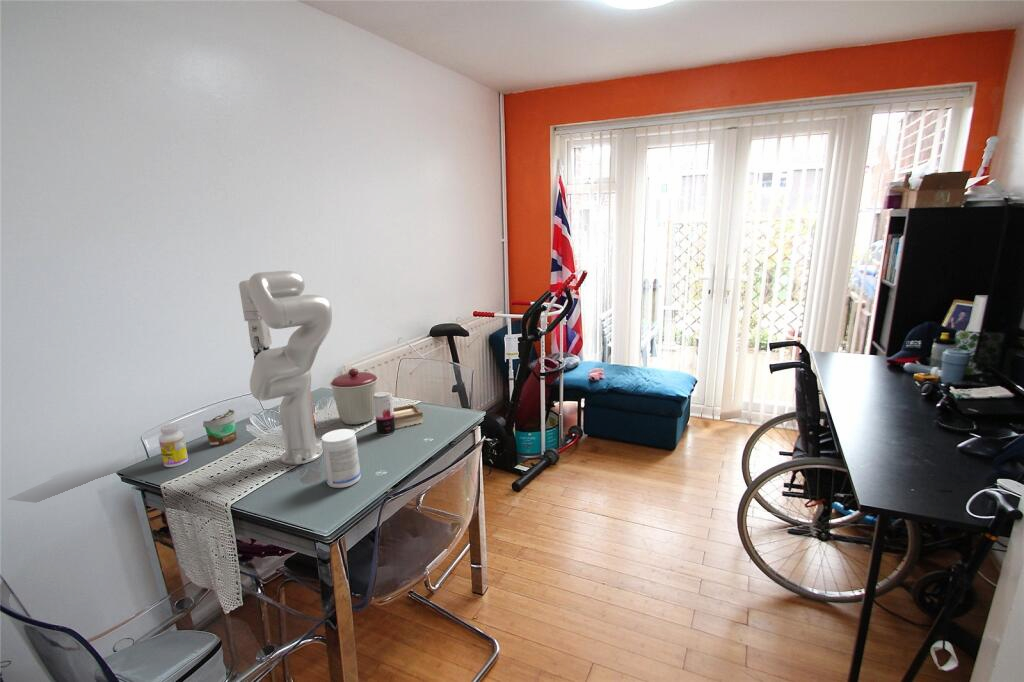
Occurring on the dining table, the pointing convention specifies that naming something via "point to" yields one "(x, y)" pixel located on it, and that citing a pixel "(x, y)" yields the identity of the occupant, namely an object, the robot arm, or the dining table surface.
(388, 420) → the beverage can
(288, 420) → the robot arm
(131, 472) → the dining table surface
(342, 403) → the canister
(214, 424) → the food container
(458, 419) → the dining table surface
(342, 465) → the supplement tub
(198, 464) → the dining table surface
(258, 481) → the dining table surface
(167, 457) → the supplement bottle
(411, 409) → the wooden tray
